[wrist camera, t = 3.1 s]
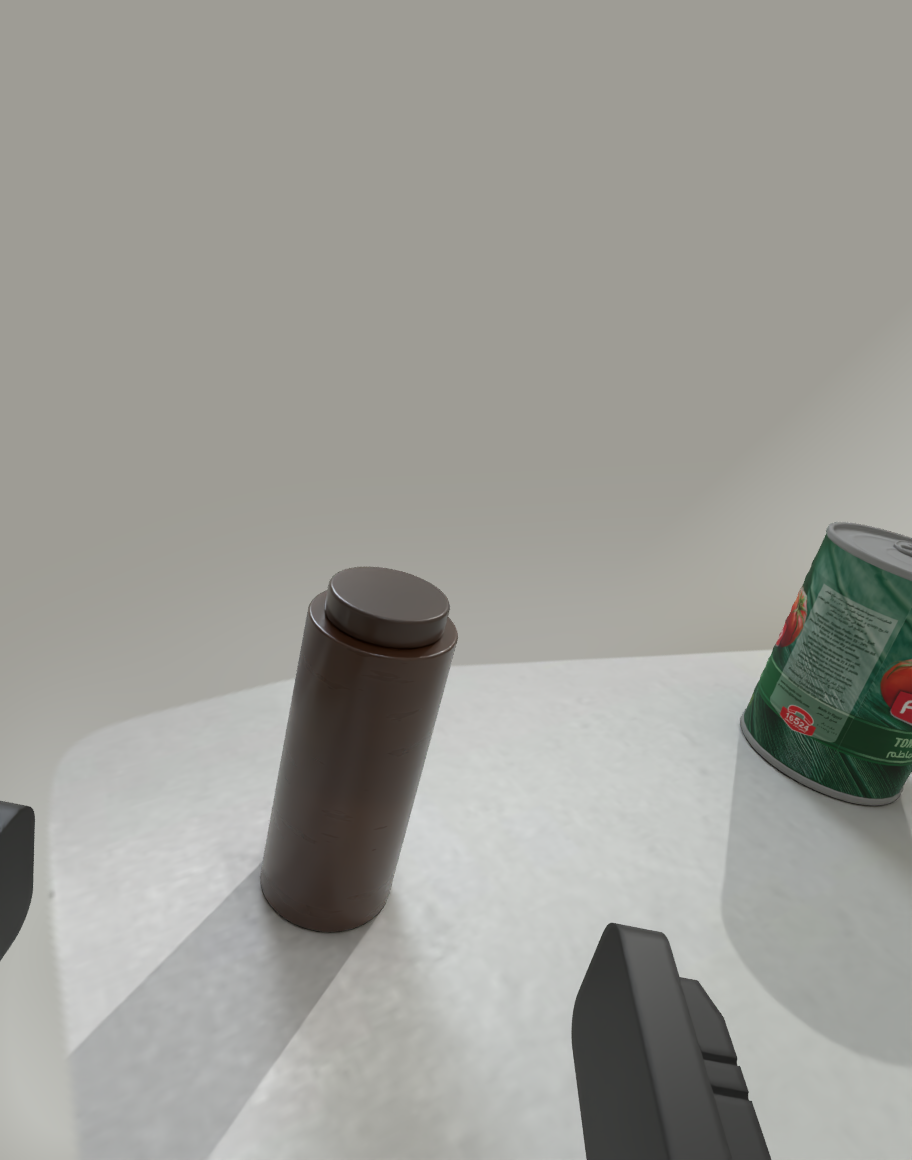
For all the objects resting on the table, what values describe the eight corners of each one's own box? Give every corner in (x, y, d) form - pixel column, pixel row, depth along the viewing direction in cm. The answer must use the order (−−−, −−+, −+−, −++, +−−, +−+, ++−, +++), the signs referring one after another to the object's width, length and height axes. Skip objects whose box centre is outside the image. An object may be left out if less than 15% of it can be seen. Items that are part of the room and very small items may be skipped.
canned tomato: (904, 832, 34) (1034, 614, 29) (729, 751, 36) (825, 542, 32) (896, 753, 40) (1001, 567, 36) (749, 690, 43) (831, 510, 39)
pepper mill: (231, 878, 23) (279, 578, 19) (320, 815, 26) (377, 549, 22) (332, 957, 21) (407, 646, 17) (414, 879, 24) (492, 604, 21)
